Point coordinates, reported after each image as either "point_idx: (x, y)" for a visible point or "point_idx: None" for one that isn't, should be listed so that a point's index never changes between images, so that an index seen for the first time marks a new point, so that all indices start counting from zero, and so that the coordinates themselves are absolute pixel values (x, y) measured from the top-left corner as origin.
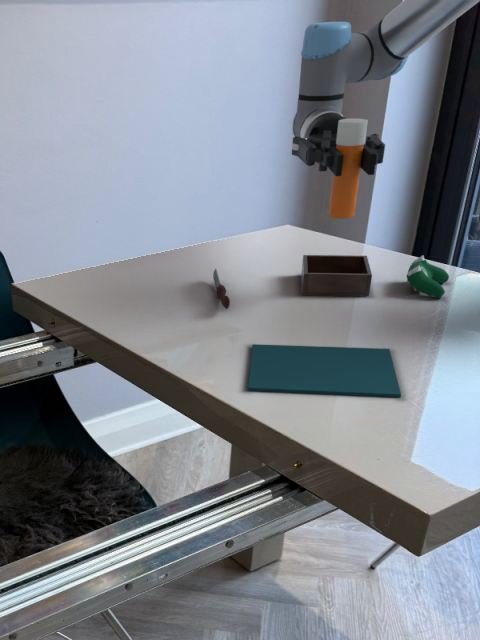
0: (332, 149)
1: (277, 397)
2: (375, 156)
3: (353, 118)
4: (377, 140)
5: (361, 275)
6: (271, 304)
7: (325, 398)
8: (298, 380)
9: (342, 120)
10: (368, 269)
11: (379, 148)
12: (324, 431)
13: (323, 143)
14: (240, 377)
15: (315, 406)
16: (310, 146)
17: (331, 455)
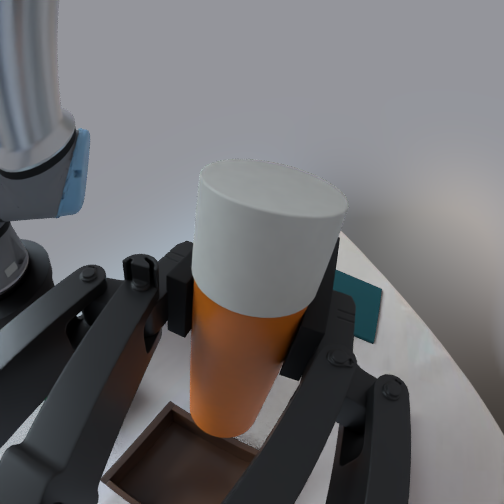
0: (331, 295)
1: (364, 279)
2: None
3: (235, 198)
4: (7, 338)
5: (184, 410)
6: (325, 446)
7: (336, 268)
8: (349, 284)
9: (325, 202)
10: (154, 423)
11: (106, 279)
12: (345, 249)
13: (302, 465)
14: (384, 305)
15: (344, 265)
16: (401, 391)
17: (347, 239)
